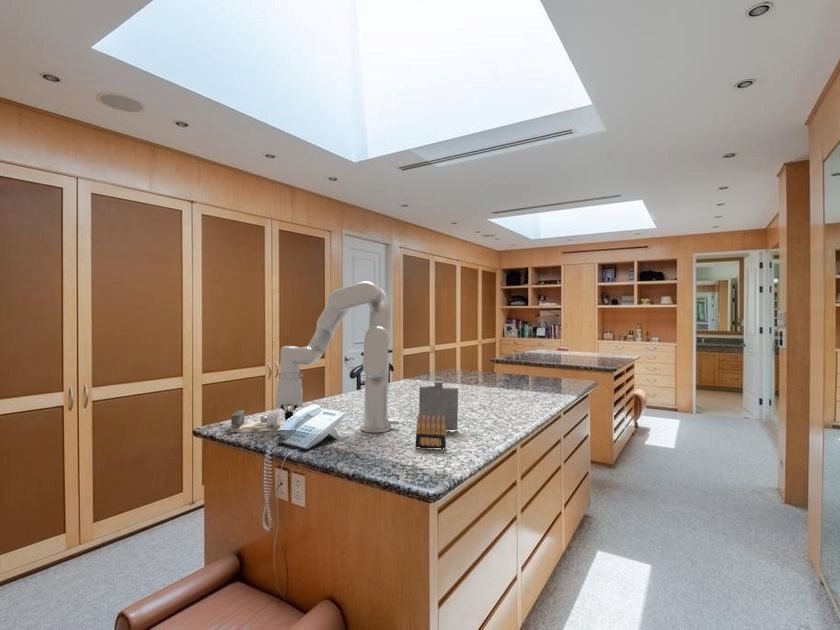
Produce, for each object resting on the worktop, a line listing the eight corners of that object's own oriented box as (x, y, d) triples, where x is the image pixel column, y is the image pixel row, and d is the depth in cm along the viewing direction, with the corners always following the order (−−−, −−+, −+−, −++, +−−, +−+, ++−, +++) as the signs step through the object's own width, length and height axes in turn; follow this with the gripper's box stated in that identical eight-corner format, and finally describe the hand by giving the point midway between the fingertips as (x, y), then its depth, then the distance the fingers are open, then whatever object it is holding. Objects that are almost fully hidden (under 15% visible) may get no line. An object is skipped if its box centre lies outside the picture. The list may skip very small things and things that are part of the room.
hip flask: (457, 430, 177) (458, 381, 177) (456, 433, 173) (457, 383, 173) (419, 428, 180) (420, 380, 180) (417, 430, 176) (418, 381, 176)
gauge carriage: (279, 421, 179) (279, 412, 179) (276, 427, 170) (276, 417, 170) (262, 422, 178) (263, 412, 178) (258, 428, 168) (259, 418, 168)
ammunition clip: (415, 448, 152) (415, 414, 152) (416, 446, 154) (416, 413, 154) (445, 450, 151) (446, 415, 151) (445, 448, 153) (446, 414, 153)
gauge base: (287, 424, 181) (287, 409, 181) (284, 431, 171) (284, 414, 171) (236, 426, 177) (236, 410, 177) (230, 432, 167) (231, 415, 167)
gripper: (309, 374, 181) (308, 418, 181) (272, 375, 179) (271, 419, 179) (308, 377, 174) (307, 423, 174) (269, 377, 171) (268, 424, 171)
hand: (288, 421), depth 176 cm, fingers closed
